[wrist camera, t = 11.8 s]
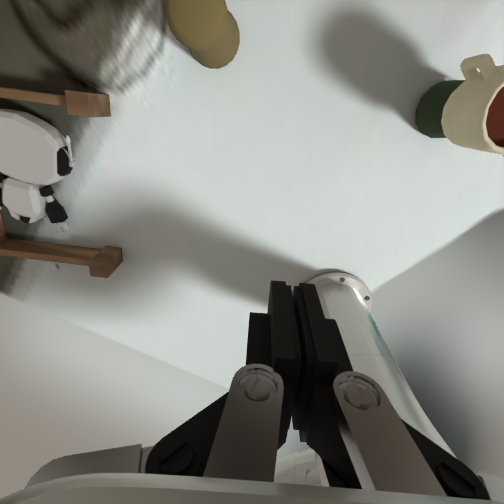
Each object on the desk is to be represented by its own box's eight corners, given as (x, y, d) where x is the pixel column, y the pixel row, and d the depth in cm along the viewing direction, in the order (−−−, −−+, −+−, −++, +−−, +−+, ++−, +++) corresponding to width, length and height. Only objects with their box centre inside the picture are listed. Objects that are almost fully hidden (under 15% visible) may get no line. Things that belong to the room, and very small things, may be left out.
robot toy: (83, 227, 45) (86, 127, 38) (65, 241, 41) (65, 132, 34) (-1, 202, 44) (-14, 93, 36) (-27, 213, 40) (-49, 95, 32)
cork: (180, 9, 32) (144, -35, 22) (234, -2, 32) (222, -53, 22) (193, 73, 35) (166, 58, 25) (243, 63, 34) (236, 45, 24)
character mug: (486, 126, 36) (594, 134, 25) (432, 164, 38) (507, 188, 27) (448, 46, 33) (552, 11, 21) (391, 93, 35) (456, 85, 23)
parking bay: (122, 261, 46) (107, 277, 42) (0, 246, 46) (-29, 261, 41) (108, 95, 36) (87, 92, 31) (-50, 73, 35) (-95, 68, 31)
